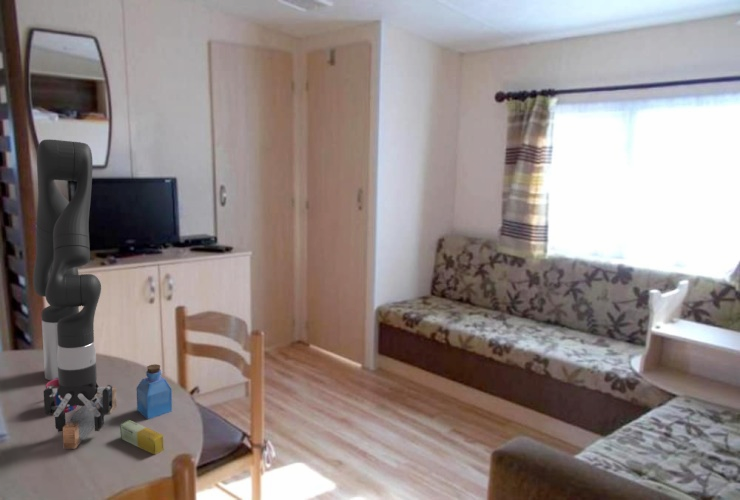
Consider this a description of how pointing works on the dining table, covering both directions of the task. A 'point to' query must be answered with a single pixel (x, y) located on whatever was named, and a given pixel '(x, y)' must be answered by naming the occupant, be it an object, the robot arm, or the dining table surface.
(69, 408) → the mug
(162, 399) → the perfume bottle
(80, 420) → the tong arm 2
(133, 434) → the medication box
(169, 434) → the dining table surface
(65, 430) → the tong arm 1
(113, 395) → the block
